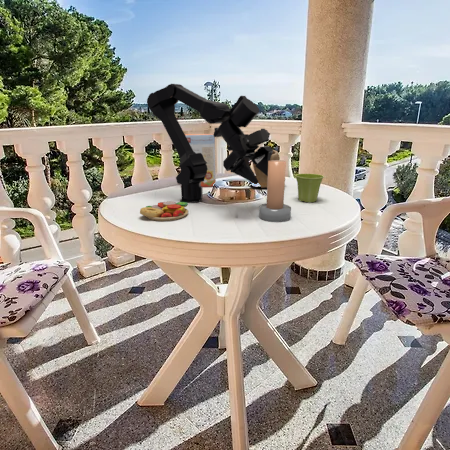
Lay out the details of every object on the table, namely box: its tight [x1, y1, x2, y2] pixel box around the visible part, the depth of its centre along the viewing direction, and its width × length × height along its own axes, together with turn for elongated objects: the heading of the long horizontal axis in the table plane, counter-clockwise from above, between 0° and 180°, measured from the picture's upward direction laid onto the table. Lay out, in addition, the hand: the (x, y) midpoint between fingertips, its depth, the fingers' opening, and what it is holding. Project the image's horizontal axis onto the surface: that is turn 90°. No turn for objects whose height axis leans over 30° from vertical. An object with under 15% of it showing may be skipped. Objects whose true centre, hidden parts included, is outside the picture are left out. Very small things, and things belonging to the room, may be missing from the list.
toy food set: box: [139, 200, 189, 222], centre depth 97 cm, size 13×13×3 cm
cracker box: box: [184, 133, 217, 188], centre depth 134 cm, size 14×6×21 cm, turn 98°
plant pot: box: [294, 173, 325, 203], centre depth 113 cm, size 9×9×9 cm
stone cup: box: [252, 149, 280, 189], centre depth 132 cm, size 15×12×15 cm
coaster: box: [258, 203, 292, 223], centre depth 95 cm, size 9×9×3 cm
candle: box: [266, 160, 287, 209], centre depth 92 cm, size 5×5×13 cm
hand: (265, 180), depth 94 cm, fingers open, 9 cm apart
